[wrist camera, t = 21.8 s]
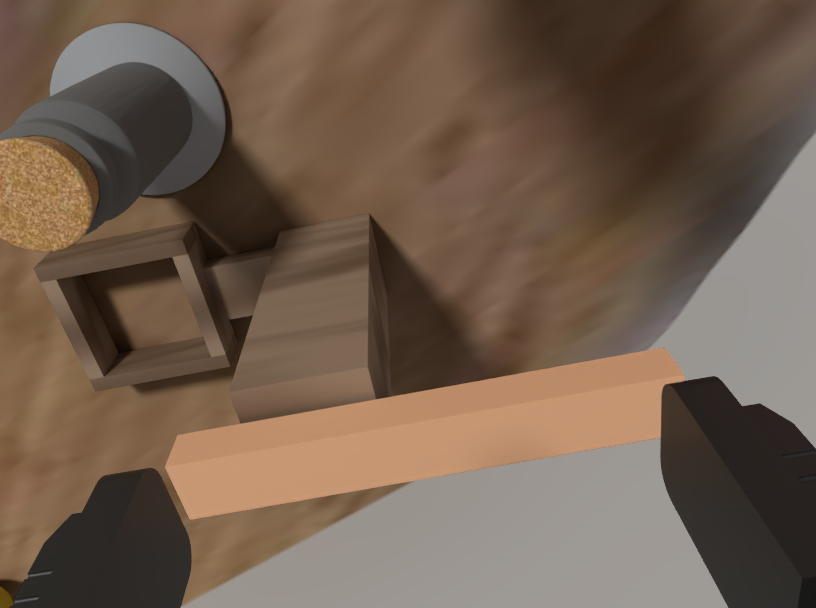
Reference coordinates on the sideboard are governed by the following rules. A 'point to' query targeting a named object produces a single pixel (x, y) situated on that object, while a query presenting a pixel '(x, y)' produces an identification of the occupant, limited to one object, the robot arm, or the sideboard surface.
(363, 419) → the bar
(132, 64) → the bottle
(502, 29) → the sideboard surface
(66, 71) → the mat
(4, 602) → the lemon
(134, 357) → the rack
